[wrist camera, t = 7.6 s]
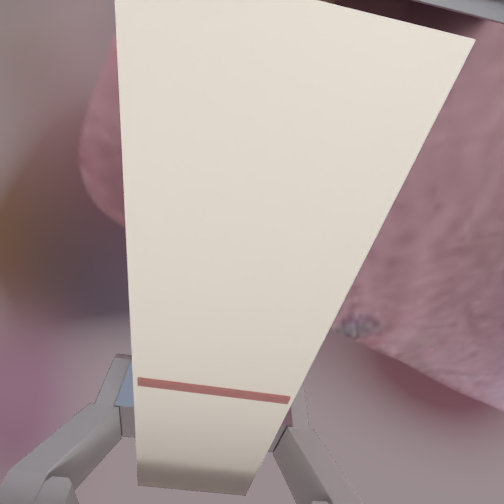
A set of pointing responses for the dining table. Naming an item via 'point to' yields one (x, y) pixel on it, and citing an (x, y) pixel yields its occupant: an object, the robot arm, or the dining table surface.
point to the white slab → (254, 205)
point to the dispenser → (472, 8)
